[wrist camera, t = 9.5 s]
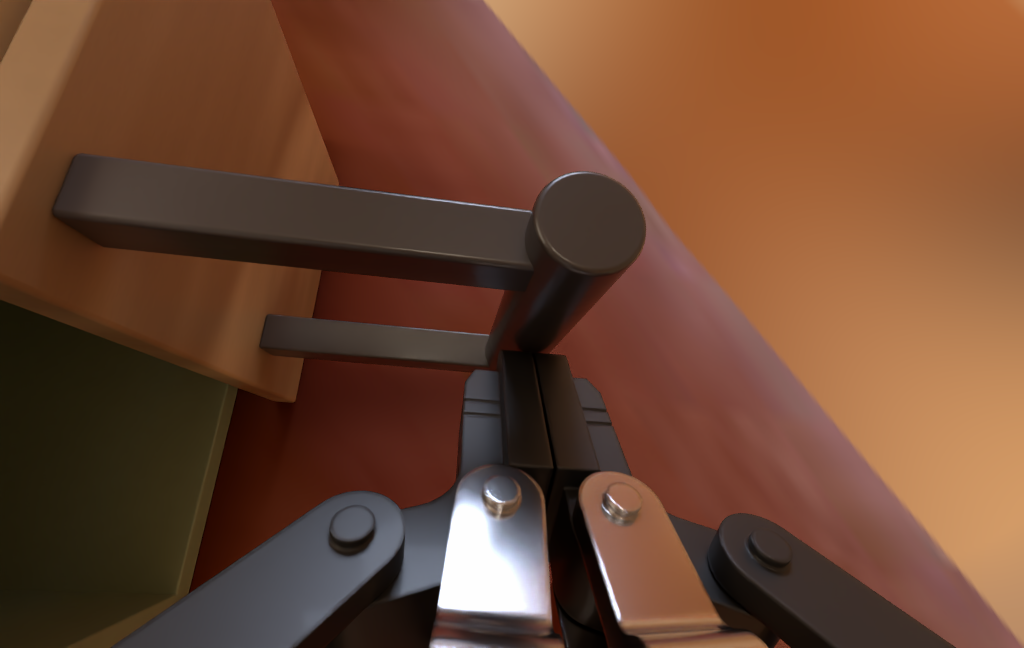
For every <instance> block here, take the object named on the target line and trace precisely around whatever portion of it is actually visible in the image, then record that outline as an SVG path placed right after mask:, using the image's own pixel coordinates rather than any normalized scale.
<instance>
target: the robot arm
mask: <svg viewBox="0 0 1024 648" xmlns="http://www.w3.org/2000/svg"><path fill="white" fill-rule="evenodd" d="M606 410H607V409H606V407H605V404H604V401H603V399H602V396H601V393H600V392H599V391H598V390H597V389H596V388H595V387H594V386H593V385H592V384H591V383H590V382H589V381H588V380H587V379H583V378H573V377H572V374H571V371H570V367H569V364H568V361H567V358H566V356H565V355H556V354H545V353H533V354H532V352H523V351H512V350H501V349H500V351H499V354H498V360H497V366H496V371H491V370H479V369H475V370H474V372H473V373H472V374H471V375H470V377H469V378H468V379H467V380H466V382H465V388H464V396H463V405H462V414H461V422H460V431H459V442H458V457H457V472H456V482H455V483H454V485H453V486H452V487H451V488H450V490H449V491H447V492H446V493H445V494H444V495H442V496H441V497H439V498H437V499H436V500H433V501H431V502H429V503H426V504H422V505H418V506H414V507H410V508H405V509H401V510H400V508H399V507H398V505H397V504H396V503H394V502H393V501H392V500H391V499H389V498H388V497H386V496H384V495H382V494H379V493H375V492H371V491H352V492H346V493H342V494H339V495H336V496H334V497H331V498H329V499H327V500H326V501H324V502H322V503H321V504H319V505H318V506H316V507H315V508H313V509H312V510H310V511H309V512H308V513H306V514H305V515H303V516H302V517H300V518H299V519H297V520H296V521H294V522H293V523H291V524H290V525H289V526H287V527H286V528H284V529H283V530H281V531H280V532H278V533H277V534H275V535H274V536H272V537H271V538H270V539H268V540H267V541H265V542H264V543H262V544H261V545H259V546H258V547H256V548H255V549H254V550H252V551H251V552H249V553H248V554H246V555H245V556H243V557H242V558H240V559H239V560H237V561H236V562H235V563H233V564H232V565H230V566H229V567H227V568H226V569H224V570H223V571H221V572H220V573H218V574H217V575H216V576H214V577H213V578H211V579H210V580H208V581H207V582H205V583H204V584H202V585H201V586H199V587H198V588H197V589H195V590H194V591H192V592H191V593H189V594H188V595H186V596H185V597H183V598H182V599H180V600H179V601H178V602H176V603H175V604H173V605H172V606H170V607H169V608H167V609H166V610H164V611H163V612H161V613H160V614H159V615H157V616H156V617H154V618H153V619H151V620H150V621H148V622H147V623H145V624H144V625H142V626H141V627H140V628H138V629H137V630H135V631H134V632H132V633H131V634H129V635H128V636H126V637H125V638H123V639H122V640H121V641H119V642H118V643H116V644H115V645H113V646H112V647H110V648H774V647H775V645H776V644H777V642H778V641H779V640H780V639H782V640H783V641H784V642H785V643H786V644H787V645H789V646H790V647H791V648H956V647H954V646H953V645H951V644H950V643H949V642H947V641H946V640H944V639H943V638H941V637H940V636H938V635H937V634H935V633H934V632H933V631H931V630H930V629H928V628H927V627H925V626H924V625H922V624H921V623H920V622H918V621H917V620H915V619H914V618H912V617H911V616H909V615H908V614H906V613H905V612H904V611H902V610H901V609H899V608H898V607H896V606H895V605H893V604H892V603H891V602H889V601H888V600H886V599H885V598H883V597H882V596H880V595H879V594H877V593H876V592H875V591H873V590H872V589H870V588H869V587H867V586H866V585H864V584H863V583H862V582H860V581H859V580H857V579H856V578H854V577H853V576H851V575H850V574H848V573H847V572H846V571H844V570H843V569H841V568H840V567H838V566H837V565H835V564H834V563H833V562H831V561H830V560H828V559H827V558H825V557H824V556H822V555H821V554H820V553H818V552H817V551H815V550H814V549H812V548H811V547H809V546H808V545H806V544H805V543H804V542H802V541H801V540H799V539H798V538H796V537H795V536H793V535H792V534H791V533H789V532H788V531H786V530H785V529H783V528H782V527H780V526H778V525H777V524H775V523H773V522H771V521H769V520H767V519H764V518H762V517H759V516H756V515H752V514H745V513H738V514H733V515H730V516H728V517H726V518H725V519H724V520H723V521H722V523H721V525H720V527H719V528H718V530H714V529H711V528H708V527H705V526H702V525H699V524H696V523H693V522H690V521H687V520H684V519H681V518H678V517H675V516H673V515H671V514H669V513H667V512H666V511H665V509H664V507H663V505H662V503H661V502H660V500H659V498H658V497H657V496H656V494H655V493H654V492H653V491H652V490H651V489H650V488H649V487H648V486H646V485H645V484H644V483H642V482H641V481H639V480H637V479H636V478H634V477H632V475H631V472H630V469H629V467H628V464H627V462H626V459H625V456H624V454H623V451H622V448H621V446H620V443H619V441H618V438H617V435H616V433H615V430H614V427H613V426H612V425H611V424H612V422H611V420H610V417H609V414H608V413H606ZM548 562H550V564H551V571H552V579H553V581H552V584H551V587H550V580H549V563H548Z"/></svg>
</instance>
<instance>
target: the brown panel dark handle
mask: <svg viewBox="0 0 1024 648" xmlns="http://www.w3.org/2000/svg"><path fill="white" fill-rule="evenodd" d="M645 237H646V223H645V218H644V214H643V211H642V209H641V207H640V205H639V203H638V201H637V200H636V198H635V197H634V196H633V194H632V193H631V192H630V191H629V190H628V189H627V188H626V187H625V186H623V185H622V184H621V183H619V182H618V181H616V180H614V179H613V178H610V177H608V176H606V175H603V174H600V173H595V172H588V171H578V172H571V173H568V174H565V175H562V176H560V177H558V178H556V179H555V180H553V181H551V182H550V183H549V184H548V185H546V186H545V187H544V188H543V190H542V191H541V192H540V194H539V195H538V197H537V199H536V201H535V204H534V207H533V209H532V211H531V210H523V209H515V208H508V207H500V206H492V205H484V204H476V203H468V202H460V201H453V200H445V199H437V198H429V197H421V196H413V195H405V194H398V193H390V192H382V191H374V190H366V189H358V188H350V187H343V186H339V181H338V178H337V176H336V173H335V170H334V168H333V165H332V162H331V160H330V157H329V154H328V152H327V149H326V146H325V144H324V141H323V138H322V136H321V133H320V130H319V128H318V125H317V122H316V120H315V117H314V114H313V112H312V109H311V106H310V104H309V101H308V99H307V96H306V93H305V91H304V88H303V85H302V83H301V80H300V77H299V75H298V72H297V69H296V67H295V64H294V61H293V59H292V56H291V53H290V51H289V48H288V45H287V43H286V40H285V37H284V35H283V32H282V29H281V27H280V24H279V21H278V19H277V16H276V13H275V11H274V8H273V5H272V3H271V0H32V2H31V4H30V6H29V8H28V10H27V12H26V14H25V16H24V18H23V20H22V22H21V24H20V25H19V27H18V29H17V31H16V33H15V35H14V37H13V39H12V41H11V43H10V45H9V47H8V49H7V51H6V53H5V55H4V57H3V59H2V61H1V63H0V300H3V301H6V302H8V303H11V304H14V305H16V306H19V307H22V308H24V309H27V310H30V311H32V312H35V313H38V314H40V315H43V316H46V317H49V318H51V319H54V320H57V321H59V322H62V323H65V324H67V325H70V326H73V327H75V328H78V329H81V330H84V331H86V332H89V333H92V334H94V335H97V336H100V337H102V338H105V339H108V340H110V341H113V342H116V343H118V344H121V345H124V346H127V347H129V348H132V349H135V350H137V351H140V352H143V353H145V354H148V355H151V356H153V357H156V358H159V359H161V360H164V361H167V362H170V363H172V364H175V365H178V366H180V367H183V368H186V369H188V370H191V371H194V372H196V373H199V374H202V375H205V376H207V377H210V378H213V379H215V380H218V381H221V382H223V383H226V384H229V385H231V386H234V387H237V388H239V389H242V390H245V391H248V392H250V393H253V394H256V395H258V396H261V397H264V398H266V399H269V400H272V401H277V402H290V403H292V402H295V400H296V395H297V391H298V386H299V381H300V376H301V371H302V366H303V361H304V358H307V359H319V360H330V361H342V362H354V363H366V364H378V365H390V366H402V367H413V368H425V369H437V370H449V371H461V372H474V370H475V369H479V370H491V371H496V366H497V360H498V354H499V351H500V349H501V350H512V351H523V352H532V354H533V353H545V354H549V353H550V352H551V351H552V350H553V349H554V347H555V346H556V345H557V344H558V343H559V342H560V341H561V340H562V339H563V338H564V337H565V336H566V335H567V333H568V332H569V331H570V330H571V329H572V328H573V327H574V326H575V325H576V324H577V323H578V322H579V321H580V320H581V318H582V317H583V316H584V315H585V314H586V313H587V312H588V311H589V310H590V309H591V308H592V307H593V306H594V304H595V303H596V302H597V301H598V300H599V299H600V298H601V297H602V296H603V295H604V294H605V293H606V292H607V291H608V289H609V288H610V287H611V286H612V285H613V284H614V283H615V282H616V281H617V280H618V279H619V278H620V277H621V275H622V274H623V273H624V272H625V271H626V270H627V269H628V268H629V267H630V266H631V265H632V264H633V263H634V262H635V260H636V259H637V258H638V256H639V255H640V253H641V251H642V249H643V246H644V243H645ZM322 270H324V271H333V272H342V273H352V274H361V275H371V276H380V277H390V278H399V279H408V280H418V281H427V282H437V283H446V284H456V285H465V286H474V287H484V288H493V289H503V290H505V291H504V294H503V297H502V300H501V303H500V306H499V309H498V312H497V315H496V318H495V321H494V323H493V326H492V329H491V332H490V335H485V334H475V333H464V332H453V331H443V330H432V329H422V328H411V327H400V326H390V325H379V324H368V323H358V322H347V321H337V320H326V319H315V318H312V316H313V311H314V306H315V301H316V296H317V291H318V286H319V281H320V276H321V271H322Z"/></svg>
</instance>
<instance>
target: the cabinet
mask: <svg viewBox="0 0 1024 648" xmlns="http://www.w3.org/2000/svg"><path fill="white" fill-rule="evenodd" d="M31 2H32V0H0V63H1V61H2V59H3V57H4V55H5V53H6V51H7V49H8V47H9V45H10V43H11V41H12V39H13V37H14V35H15V33H16V31H17V29H18V27H19V25H20V24H21V22H22V20H23V18H24V16H25V14H26V12H27V10H28V8H29V6H30V4H31ZM237 390H238V388H237V387H234V386H231V385H229V384H226V383H223V382H221V381H218V380H215V379H213V378H210V377H207V376H205V375H202V374H199V373H196V372H194V371H191V370H188V369H186V368H183V367H180V366H178V365H175V364H172V363H170V362H167V361H164V360H161V359H159V358H156V357H153V356H151V355H148V354H145V353H143V352H140V351H137V350H135V349H132V348H129V347H127V346H124V345H121V344H118V343H116V342H113V341H110V340H108V339H105V338H102V337H100V336H97V335H94V334H92V333H89V332H86V331H84V330H81V329H78V328H75V327H73V326H70V325H67V324H65V323H62V322H59V321H57V320H54V319H51V318H49V317H46V316H43V315H40V314H38V313H35V312H32V311H30V310H27V309H24V308H22V307H19V306H16V305H14V304H11V303H8V302H6V301H3V300H0V648H110V647H112V646H113V645H115V644H116V643H118V642H119V641H121V640H122V639H123V638H125V637H126V636H128V635H129V634H131V633H132V632H134V631H135V630H137V629H138V628H140V627H141V626H142V625H144V624H145V623H147V622H148V621H150V620H151V619H153V618H154V617H156V616H157V615H159V614H160V613H161V612H163V611H164V610H166V609H167V608H169V607H170V606H172V605H173V604H175V603H176V602H178V601H179V600H180V599H182V598H183V597H185V596H186V595H188V594H189V589H190V585H191V581H192V577H193V573H194V569H195V565H196V560H197V556H198V552H199V548H200V544H201V540H202V536H203V531H204V527H205V523H206V519H207V515H208V511H209V506H210V502H211V498H212V494H213V490H214V486H215V482H216V477H217V473H218V469H219V465H220V461H221V457H222V453H223V448H224V444H225V440H226V436H227V432H228V428H229V424H230V419H231V415H232V411H233V407H234V403H235V399H236V394H237Z"/></svg>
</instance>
